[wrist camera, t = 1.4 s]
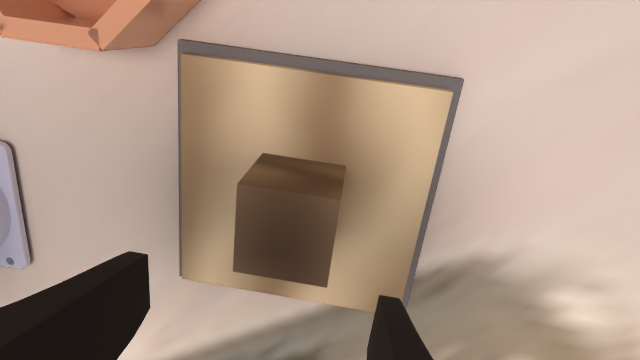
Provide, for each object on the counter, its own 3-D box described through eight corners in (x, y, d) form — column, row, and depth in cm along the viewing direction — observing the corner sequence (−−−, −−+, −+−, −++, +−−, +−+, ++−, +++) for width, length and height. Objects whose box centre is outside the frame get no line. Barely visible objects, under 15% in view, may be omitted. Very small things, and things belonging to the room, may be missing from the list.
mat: (183, 271, 24) (179, 276, 23) (182, 39, 19) (177, 39, 18) (403, 309, 23) (404, 315, 22) (461, 78, 18) (463, 79, 18)
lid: (188, 270, 23) (144, 329, 18) (188, 52, 18) (131, 61, 14) (396, 306, 22) (404, 377, 18) (449, 89, 18) (477, 111, 13)
